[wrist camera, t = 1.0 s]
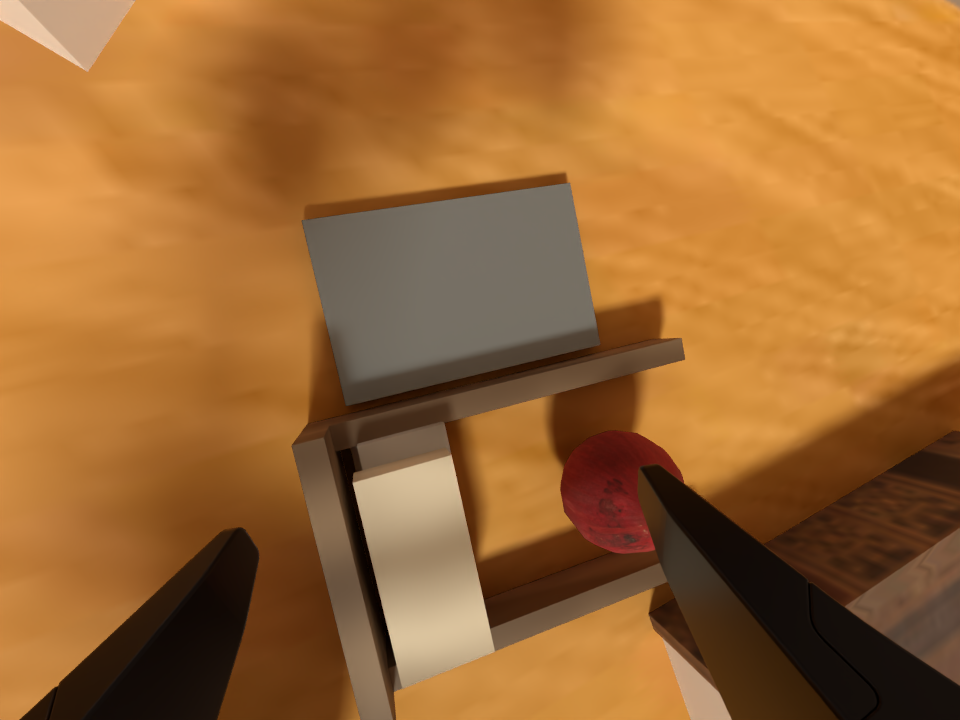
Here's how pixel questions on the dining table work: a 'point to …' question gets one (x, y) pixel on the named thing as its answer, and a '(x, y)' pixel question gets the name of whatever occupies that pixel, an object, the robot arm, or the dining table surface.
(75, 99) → the dining table surface
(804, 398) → the dining table surface
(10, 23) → the milk
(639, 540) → the onion
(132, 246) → the dining table surface
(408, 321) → the slate board
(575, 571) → the rack
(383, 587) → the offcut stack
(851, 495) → the book
